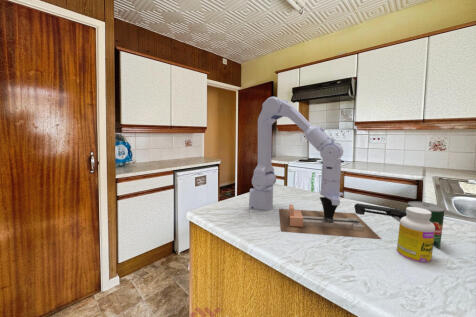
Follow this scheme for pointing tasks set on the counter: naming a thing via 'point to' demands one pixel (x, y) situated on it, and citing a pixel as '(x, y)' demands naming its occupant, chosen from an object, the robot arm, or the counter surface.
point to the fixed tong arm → (334, 224)
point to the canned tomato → (433, 218)
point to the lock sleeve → (295, 217)
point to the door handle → (392, 212)
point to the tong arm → (332, 219)
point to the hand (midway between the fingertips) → (328, 219)
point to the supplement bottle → (416, 235)
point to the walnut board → (322, 230)
